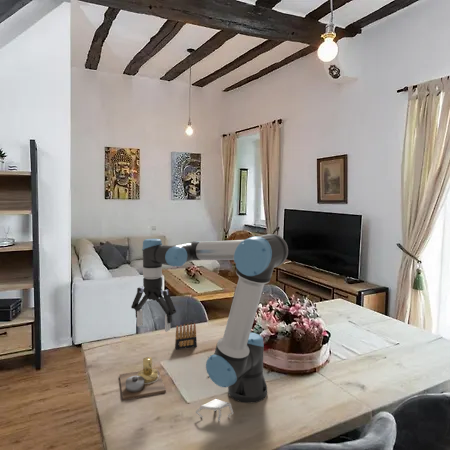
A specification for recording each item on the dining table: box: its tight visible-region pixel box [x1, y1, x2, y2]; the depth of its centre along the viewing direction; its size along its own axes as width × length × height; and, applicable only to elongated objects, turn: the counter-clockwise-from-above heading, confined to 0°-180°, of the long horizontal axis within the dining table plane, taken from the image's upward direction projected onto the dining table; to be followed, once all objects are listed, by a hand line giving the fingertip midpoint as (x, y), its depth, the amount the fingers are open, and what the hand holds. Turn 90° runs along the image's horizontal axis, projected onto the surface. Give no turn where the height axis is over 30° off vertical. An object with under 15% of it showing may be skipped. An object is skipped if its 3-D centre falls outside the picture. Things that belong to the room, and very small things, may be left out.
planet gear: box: [137, 356, 158, 383], centre depth 148 cm, size 8×8×8 cm
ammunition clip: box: [174, 322, 198, 351], centre depth 180 cm, size 11×2×12 cm, turn 110°
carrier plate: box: [119, 368, 167, 401], centre depth 145 cm, size 18×16×5 cm
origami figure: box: [195, 398, 234, 422], centre depth 125 cm, size 12×8×5 cm
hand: (153, 328), depth 148 cm, fingers open, 13 cm apart
